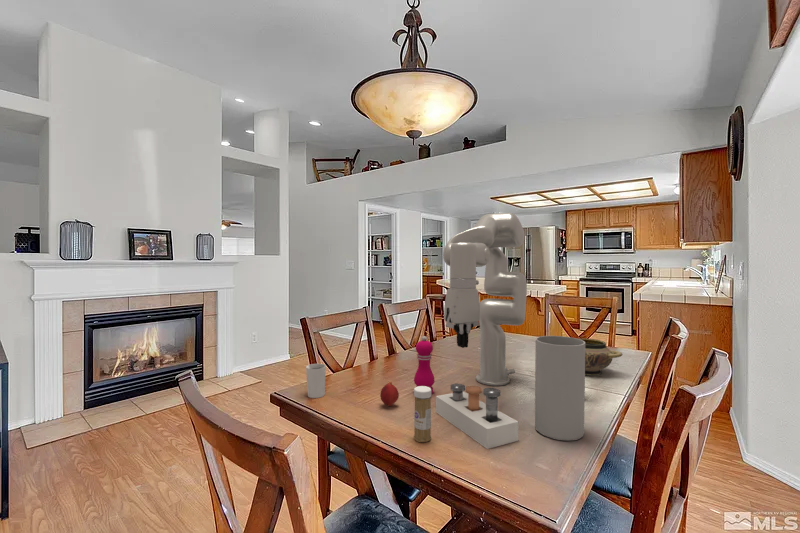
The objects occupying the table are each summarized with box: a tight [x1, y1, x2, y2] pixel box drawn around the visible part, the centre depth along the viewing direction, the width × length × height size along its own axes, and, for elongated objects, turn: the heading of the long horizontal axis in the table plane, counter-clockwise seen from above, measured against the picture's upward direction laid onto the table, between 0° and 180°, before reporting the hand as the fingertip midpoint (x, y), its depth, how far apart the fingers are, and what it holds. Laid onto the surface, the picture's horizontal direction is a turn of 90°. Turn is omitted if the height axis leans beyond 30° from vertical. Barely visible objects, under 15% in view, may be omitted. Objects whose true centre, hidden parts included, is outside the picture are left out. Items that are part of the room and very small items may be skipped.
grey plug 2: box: [482, 387, 502, 423], centre depth 102 cm, size 4×4×8 cm
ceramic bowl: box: [579, 338, 623, 376], centre depth 159 cm, size 24×18×15 cm
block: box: [435, 391, 519, 450], centre depth 109 cm, size 10×25×5 cm, turn 25°
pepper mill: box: [413, 335, 436, 395], centre depth 135 cm, size 7×7×20 cm
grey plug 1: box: [450, 383, 466, 402], centre depth 117 cm, size 4×4×8 cm
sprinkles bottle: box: [413, 386, 432, 443], centre depth 101 cm, size 5×5×14 cm
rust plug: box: [465, 385, 483, 412], centre depth 109 cm, size 4×4×8 cm
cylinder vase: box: [534, 335, 586, 442], centre depth 105 cm, size 12×12×25 cm
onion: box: [380, 380, 400, 407], centre depth 123 cm, size 6×6×8 cm
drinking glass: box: [305, 363, 327, 399], centre depth 133 cm, size 7×7×10 cm
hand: (462, 346), depth 114 cm, fingers closed
